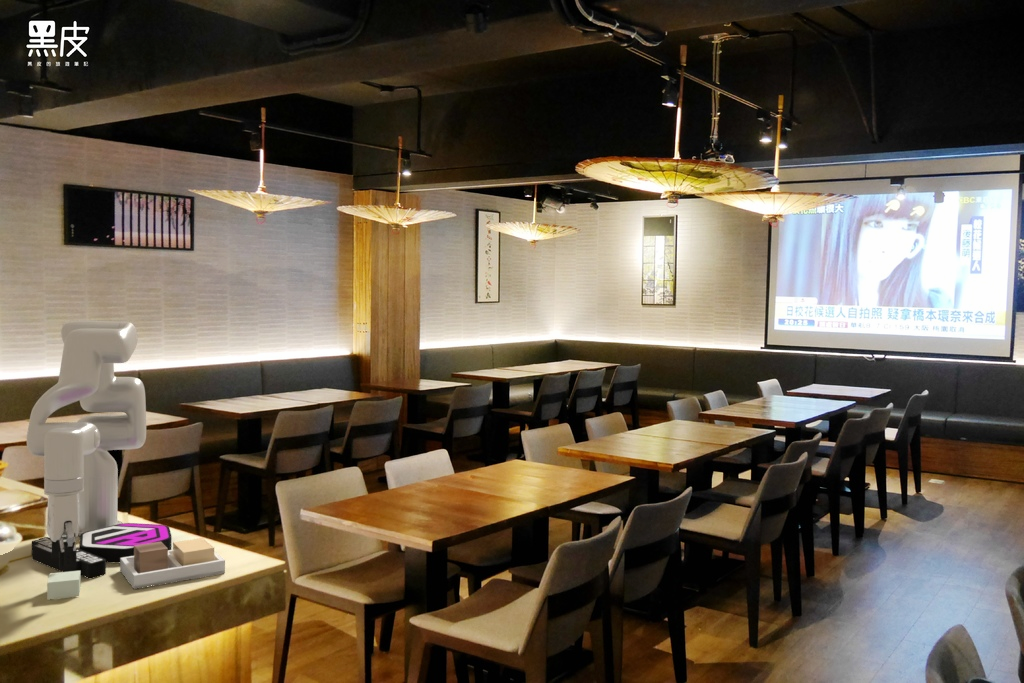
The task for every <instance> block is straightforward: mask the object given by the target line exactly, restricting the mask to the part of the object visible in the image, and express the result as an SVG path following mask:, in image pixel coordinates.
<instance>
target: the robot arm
mask: <svg viewBox="0 0 1024 683" xmlns="http://www.w3.org/2000/svg"><path fill="white" fill-rule="evenodd" d="M60 331H61V332H60V333H61V334H60V335H61V340H62V341H63V349H62V354H61V355H62V356H61V362H60V368H59V373H58V381H57V383H56V384H54V385H53V386H52V387H50V388H49V389H47V391H45V392H44V393H43V394H42V395H41V396H40V397H39V399H37V401H36V403H35V404H34V406H33V407H32V409H31V413H30V416H29V421H28V427H27V434H26V447H27V450H28V452H29V453H30V454H31V455H33V456H34V457H42V458H44V459H43V460H44V461H43V462H44V463H43V464H44V466H43V467H44V468H43V470H44V473H43V475H44V477H43V480H44V482H43V486H44V487H43V488H44V489H43V493H44V495H46V496H48V498H47V510H46V512H47V513H46V534H47V535H48V536H47V537H49V538H50V539H51V540H52V558H53V559H56V558H59V570H60V571H59V570H58V571H59V572H61V571H65V570H71V569H75V568H76V548H77V546H76V539H78V537H80V535H81V534H82V533H84V532H87V531H91V530H96V529H100V528H104V527H109V526H113V525H117V524H123V523H124V522H123V521H120V520H118V491H119V489H118V486H119V485H118V481H119V480H118V478H119V477H118V473H119V472H118V471H119V470H118V464H117V461H116V460H115V458H114V457H113V456H112V455H111V454H110V452H109V451H113V450H114V451H117V450H119V451H121V450H123V451H124V450H136V449H140V448H142V447H143V446H144V444H145V443H146V441H147V440H146V439H147V405H146V400H147V399H146V389H145V385H144V383H143V381H142V380H141V379H140V378H138V377H134V376H115V368H114V367H115V366H114V364H124V363H125V364H126V363H127V362H128V361H130V359H131V357H132V355H133V353H134V352H135V350H136V348H137V346H138V331H137V328H136V326H135V325H134V324H133V323H132V322H130V321H119V320H118V321H115V320H113V321H111V320H107V321H106V320H104V321H103V320H72V321H67V322H65V323H63V325H62V326H61V330H60ZM78 401H79V403H80V407H81V408H82V410H83V411H86V412H89V413H124V414H90V415H85V416H83V417H80V419H78V420H77V421H76V422H71V421H68V422H67V421H66V422H64V421H63V422H62V421H61V422H60V421H59V422H58V421H57V422H53V421H52V422H47V420H48V418H49V417H50V416H51V415H52V414H53V413H54V412H56V411H58V410H59V409H61V408H64V407H65V406H68V405H71V404H73V403H76V402H78ZM78 535H79V536H78Z"/></svg>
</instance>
